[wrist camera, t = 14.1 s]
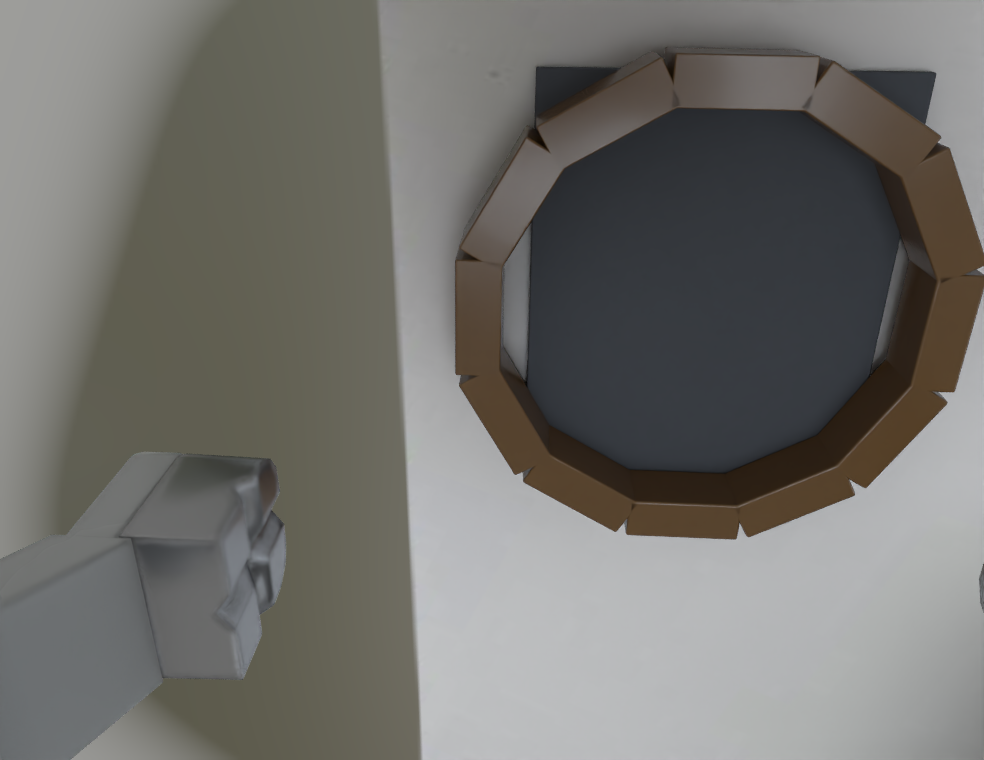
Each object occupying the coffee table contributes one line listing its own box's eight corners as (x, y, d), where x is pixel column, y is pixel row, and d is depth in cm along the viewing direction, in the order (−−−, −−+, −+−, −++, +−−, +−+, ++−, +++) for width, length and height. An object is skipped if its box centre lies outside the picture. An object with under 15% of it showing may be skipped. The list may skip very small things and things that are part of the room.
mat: (536, 66, 28) (536, 67, 28) (931, 71, 28) (937, 72, 27) (524, 474, 35) (524, 479, 35) (841, 484, 35) (844, 489, 34)
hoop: (460, 42, 28) (454, 48, 25) (1008, 54, 27) (1049, 60, 25) (460, 494, 35) (455, 528, 33) (888, 512, 35) (911, 547, 32)
